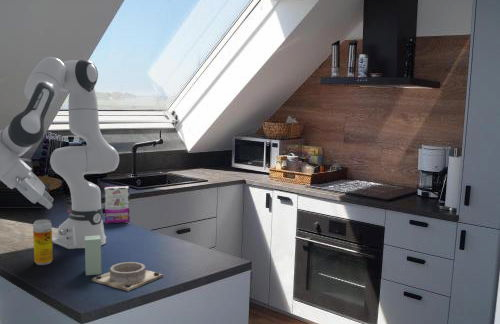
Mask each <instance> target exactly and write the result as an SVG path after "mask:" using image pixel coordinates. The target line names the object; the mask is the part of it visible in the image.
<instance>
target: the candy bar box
mask: <svg viewBox="0 0 500 324" xmlns="http://www.w3.org/2000/svg"><path fill="white" fill-rule="evenodd" d="M129 187H130V186H129V185H127V186H126V185H125V186H123V185H121V186H105V187H104V192H103V194H104V223H105V224H124V223H125V224H126V223H130V222H131V214H130V213H131V211H130V209H131V208H130V188H129Z"/></svg>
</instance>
